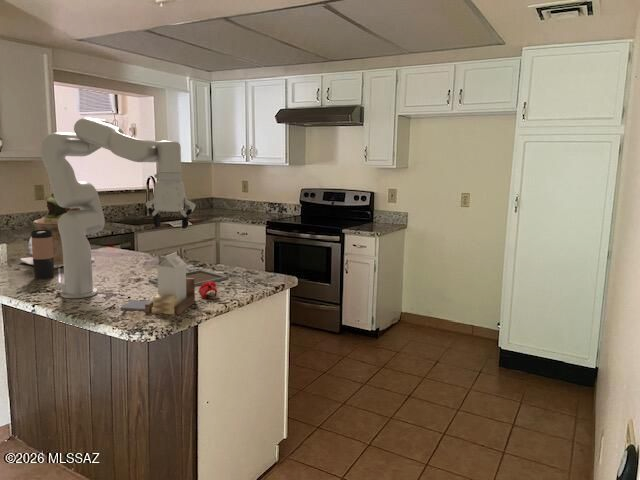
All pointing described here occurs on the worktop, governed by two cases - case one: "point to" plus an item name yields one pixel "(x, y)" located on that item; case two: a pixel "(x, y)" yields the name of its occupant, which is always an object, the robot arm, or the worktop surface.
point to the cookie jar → (51, 224)
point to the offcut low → (163, 310)
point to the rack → (185, 303)
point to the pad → (135, 305)
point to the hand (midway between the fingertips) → (171, 227)
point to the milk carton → (172, 277)
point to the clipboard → (198, 277)
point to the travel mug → (42, 254)
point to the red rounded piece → (207, 288)
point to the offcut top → (165, 298)
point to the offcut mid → (166, 305)
